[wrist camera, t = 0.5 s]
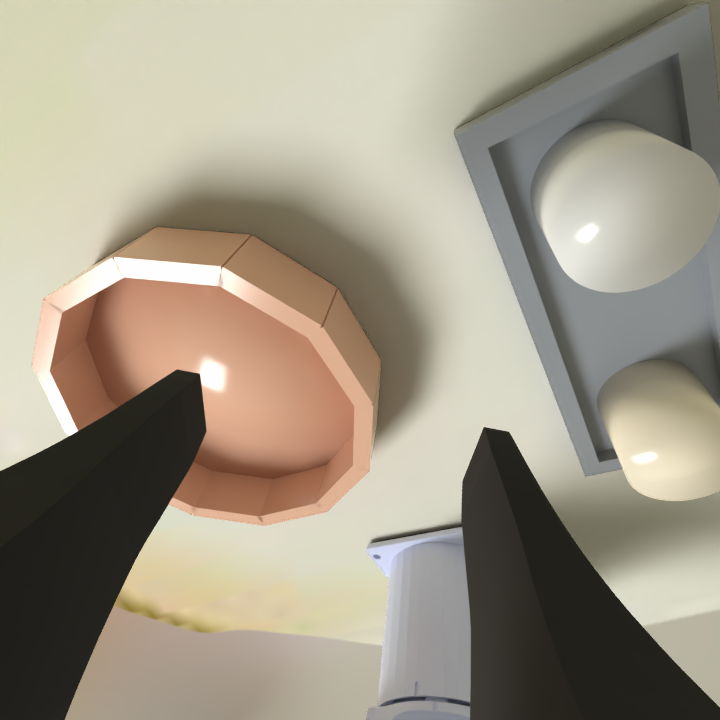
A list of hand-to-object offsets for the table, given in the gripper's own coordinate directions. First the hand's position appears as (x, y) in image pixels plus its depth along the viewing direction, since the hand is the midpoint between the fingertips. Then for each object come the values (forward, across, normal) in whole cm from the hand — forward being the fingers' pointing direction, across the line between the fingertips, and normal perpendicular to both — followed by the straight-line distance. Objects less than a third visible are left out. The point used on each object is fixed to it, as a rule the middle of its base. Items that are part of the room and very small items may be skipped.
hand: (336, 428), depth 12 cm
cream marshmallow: (+9, -13, +3) cm, 16 cm away
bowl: (+9, +7, +7) cm, 14 cm away
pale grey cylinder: (+9, -7, -5) cm, 12 cm away
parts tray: (+9, -10, -1) cm, 13 cm away
